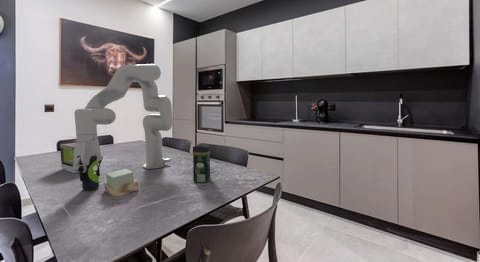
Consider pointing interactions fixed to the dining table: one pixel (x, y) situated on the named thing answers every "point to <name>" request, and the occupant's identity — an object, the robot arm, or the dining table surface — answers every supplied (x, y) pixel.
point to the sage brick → (120, 177)
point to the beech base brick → (121, 188)
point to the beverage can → (91, 175)
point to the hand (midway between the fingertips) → (90, 178)
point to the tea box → (67, 157)
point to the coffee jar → (201, 163)
